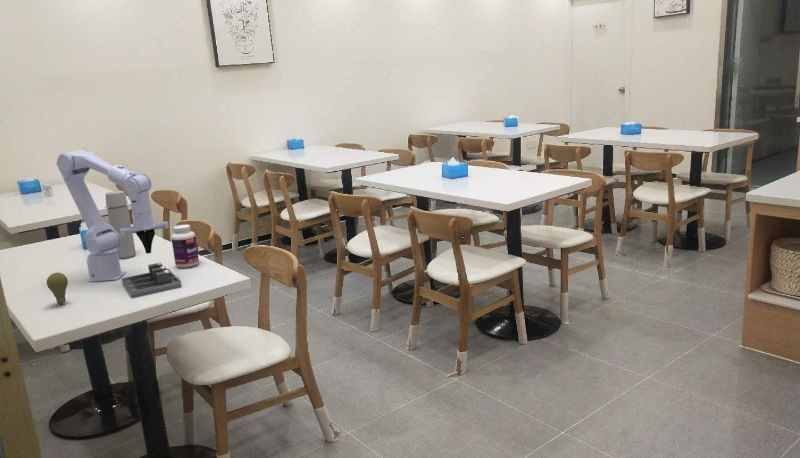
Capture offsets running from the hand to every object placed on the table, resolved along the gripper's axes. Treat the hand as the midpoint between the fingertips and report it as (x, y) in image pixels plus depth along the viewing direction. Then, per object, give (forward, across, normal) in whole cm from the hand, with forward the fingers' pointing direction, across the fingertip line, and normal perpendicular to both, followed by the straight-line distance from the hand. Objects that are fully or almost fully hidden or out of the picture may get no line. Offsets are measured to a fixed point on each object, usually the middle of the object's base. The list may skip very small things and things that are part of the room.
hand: (148, 252), depth 200 cm
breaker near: (+9, +2, -10) cm, 14 cm away
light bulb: (+10, -27, -4) cm, 29 cm away
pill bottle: (+10, +14, +10) cm, 19 cm away
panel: (+10, -1, -5) cm, 11 cm away
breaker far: (+9, +2, +1) cm, 9 cm away
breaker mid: (+9, +2, -5) cm, 10 cm away
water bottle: (+10, -3, +40) cm, 41 cm away
